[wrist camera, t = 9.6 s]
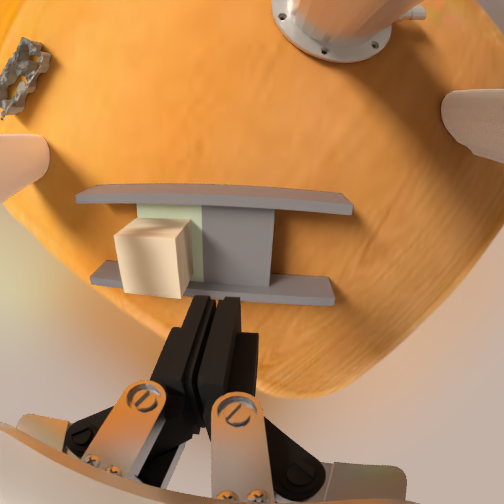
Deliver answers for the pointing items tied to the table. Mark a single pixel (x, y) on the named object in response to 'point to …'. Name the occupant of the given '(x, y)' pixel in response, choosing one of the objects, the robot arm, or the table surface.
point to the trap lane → (231, 237)
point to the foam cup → (21, 162)
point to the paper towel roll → (476, 120)
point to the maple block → (155, 256)
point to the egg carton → (22, 67)
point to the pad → (181, 213)
